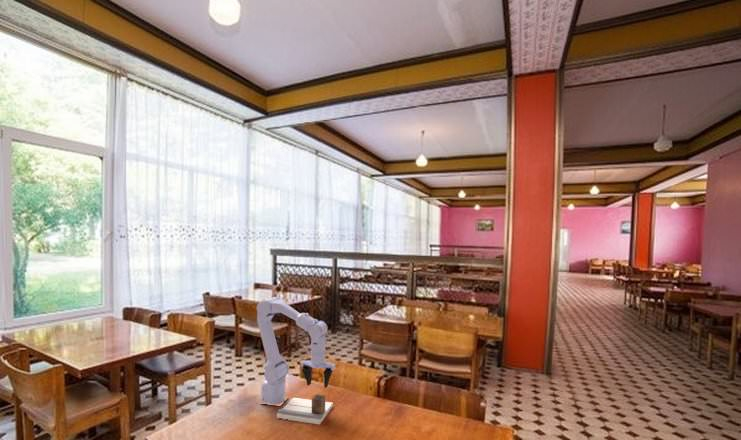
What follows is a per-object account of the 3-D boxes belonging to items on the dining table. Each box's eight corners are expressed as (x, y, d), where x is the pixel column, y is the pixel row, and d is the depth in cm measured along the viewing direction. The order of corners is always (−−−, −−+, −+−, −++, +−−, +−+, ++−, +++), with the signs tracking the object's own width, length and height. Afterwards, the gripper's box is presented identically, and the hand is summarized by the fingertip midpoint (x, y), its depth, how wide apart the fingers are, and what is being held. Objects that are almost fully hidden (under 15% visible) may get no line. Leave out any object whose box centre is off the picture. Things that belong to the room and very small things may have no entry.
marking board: (276, 418, 130) (276, 411, 130) (293, 401, 143) (293, 395, 143) (319, 424, 125) (319, 417, 125) (332, 406, 139) (332, 400, 139)
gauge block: (311, 415, 129) (311, 399, 130) (315, 409, 133) (315, 394, 133) (321, 416, 128) (321, 400, 129) (325, 411, 132) (325, 395, 132)
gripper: (297, 353, 136) (297, 387, 135) (330, 357, 132) (330, 392, 132) (305, 348, 143) (304, 380, 142) (337, 351, 139) (336, 384, 139)
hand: (317, 385), depth 137 cm, fingers open, 7 cm apart
